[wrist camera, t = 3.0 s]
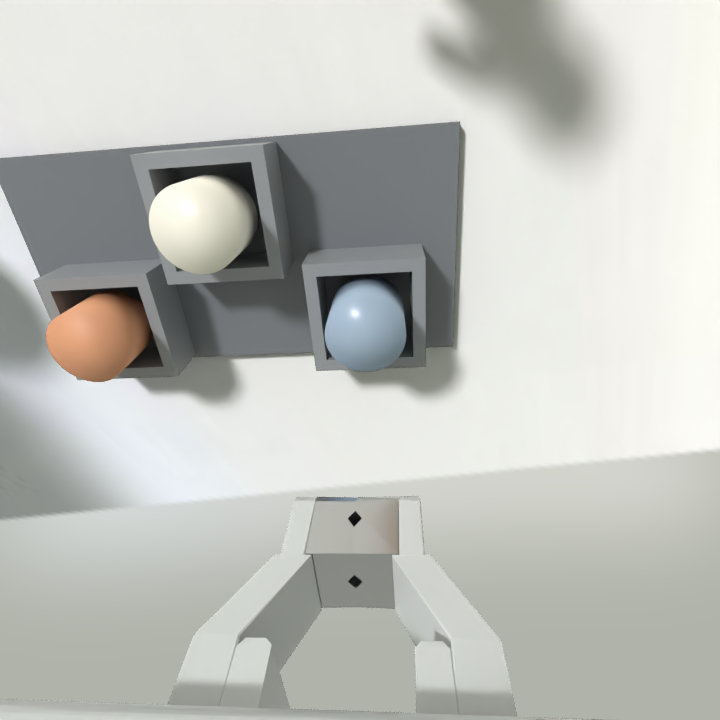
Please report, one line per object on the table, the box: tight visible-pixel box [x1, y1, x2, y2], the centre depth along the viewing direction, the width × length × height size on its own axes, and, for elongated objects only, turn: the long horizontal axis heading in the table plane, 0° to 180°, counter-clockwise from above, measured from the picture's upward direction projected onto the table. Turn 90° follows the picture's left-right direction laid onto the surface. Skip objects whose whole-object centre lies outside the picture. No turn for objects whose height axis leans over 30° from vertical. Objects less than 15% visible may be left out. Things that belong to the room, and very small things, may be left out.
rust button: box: [46, 290, 153, 382], centre depth 22 cm, size 4×4×3 cm
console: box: [0, 122, 460, 380], centre depth 22 cm, size 22×11×3 cm, turn 94°
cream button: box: [149, 173, 258, 274], centre depth 19 cm, size 4×4×3 cm
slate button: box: [325, 276, 406, 372], centre depth 21 cm, size 4×4×3 cm
